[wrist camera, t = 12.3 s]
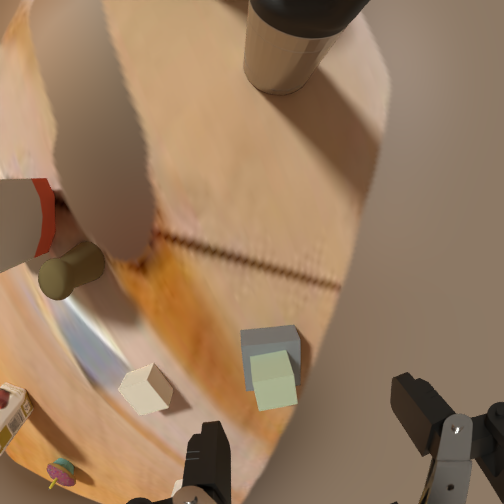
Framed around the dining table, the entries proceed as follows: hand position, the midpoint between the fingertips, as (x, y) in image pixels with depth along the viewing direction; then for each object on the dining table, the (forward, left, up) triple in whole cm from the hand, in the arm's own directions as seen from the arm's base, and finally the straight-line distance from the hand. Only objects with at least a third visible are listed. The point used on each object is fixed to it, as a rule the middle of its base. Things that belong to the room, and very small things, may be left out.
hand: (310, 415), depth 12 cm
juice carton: (+20, -59, -30) cm, 69 cm away
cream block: (+17, -22, -30) cm, 41 cm away
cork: (-5, -25, -30) cm, 40 cm away
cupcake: (+44, -60, -30) cm, 80 cm away
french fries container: (-14, -31, -30) cm, 46 cm away
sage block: (+15, -2, -25) cm, 29 cm away
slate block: (+15, -1, -30) cm, 34 cm away
